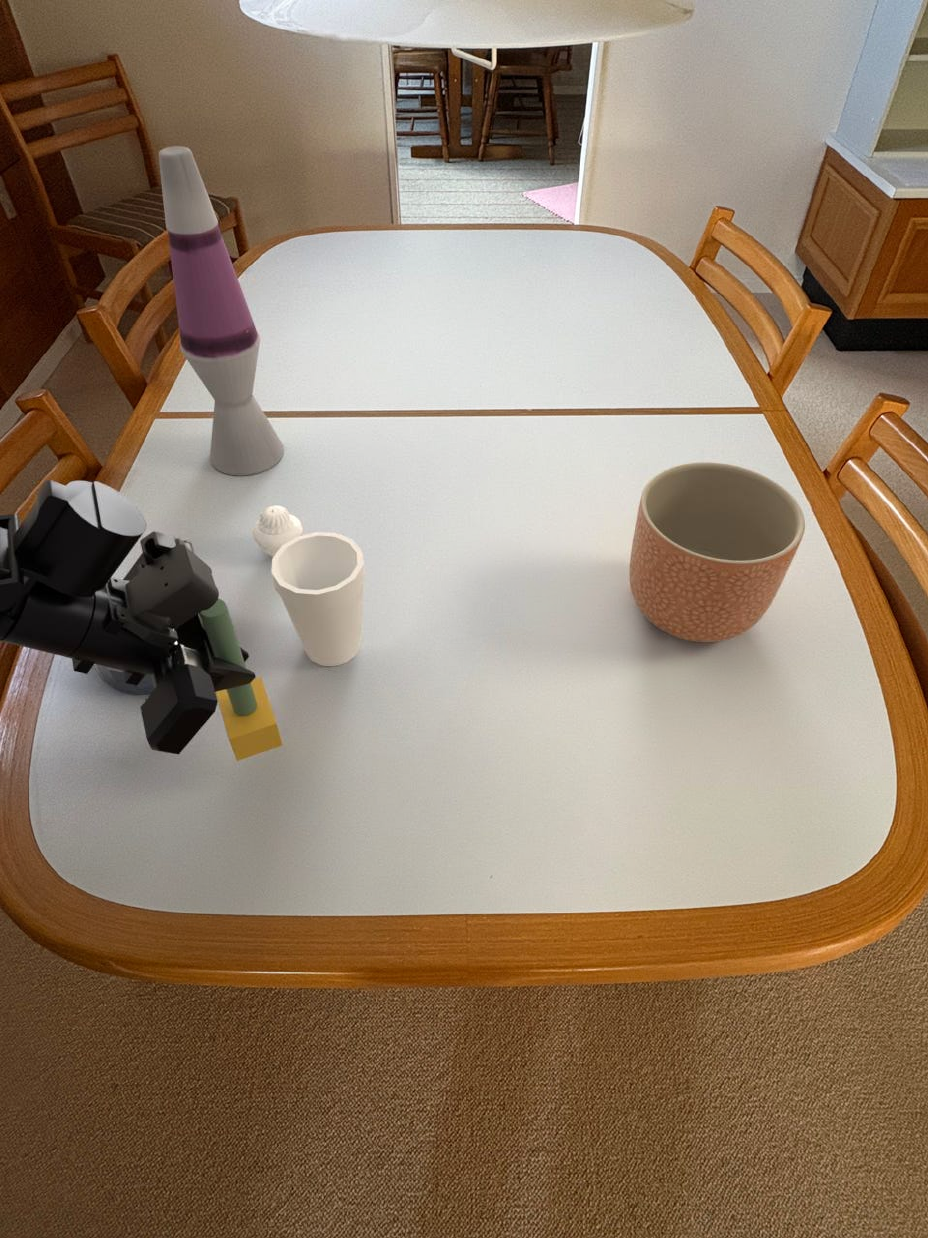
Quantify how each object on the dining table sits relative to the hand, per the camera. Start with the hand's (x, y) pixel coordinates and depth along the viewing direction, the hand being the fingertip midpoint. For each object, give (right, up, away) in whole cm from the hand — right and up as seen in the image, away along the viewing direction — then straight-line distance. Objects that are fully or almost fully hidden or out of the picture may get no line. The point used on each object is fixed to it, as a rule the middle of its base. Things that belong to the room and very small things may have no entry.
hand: (249, 668), depth 70 cm
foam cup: (+4, +1, +20) cm, 20 cm away
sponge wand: (-1, -6, +6) cm, 9 cm away
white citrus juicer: (-4, +13, +31) cm, 34 cm away
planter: (+46, +6, +24) cm, 53 cm away
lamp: (-13, +29, +45) cm, 55 cm away
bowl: (-16, +1, +20) cm, 25 cm away
